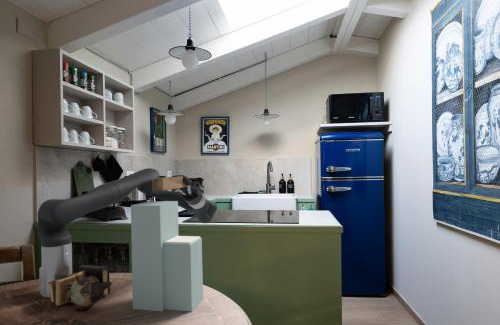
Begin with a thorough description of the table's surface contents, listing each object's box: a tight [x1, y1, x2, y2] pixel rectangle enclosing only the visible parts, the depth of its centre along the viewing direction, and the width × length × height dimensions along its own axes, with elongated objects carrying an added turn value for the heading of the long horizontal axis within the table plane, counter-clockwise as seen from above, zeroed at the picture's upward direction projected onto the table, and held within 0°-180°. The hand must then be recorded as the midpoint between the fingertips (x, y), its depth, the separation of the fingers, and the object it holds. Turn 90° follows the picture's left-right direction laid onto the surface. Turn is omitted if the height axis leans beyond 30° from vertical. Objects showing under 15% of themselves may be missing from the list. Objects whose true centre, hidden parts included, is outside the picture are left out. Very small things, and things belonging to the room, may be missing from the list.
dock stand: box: [130, 200, 204, 312], centre depth 100 cm, size 19×12×32 cm, turn 77°
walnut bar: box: [152, 175, 190, 191], centre depth 112 cm, size 4×20×4 cm, turn 167°
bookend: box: [48, 264, 113, 310], centre depth 102 cm, size 15×11×25 cm
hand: (178, 178), depth 117 cm, fingers closed on walnut bar, 4 cm apart
